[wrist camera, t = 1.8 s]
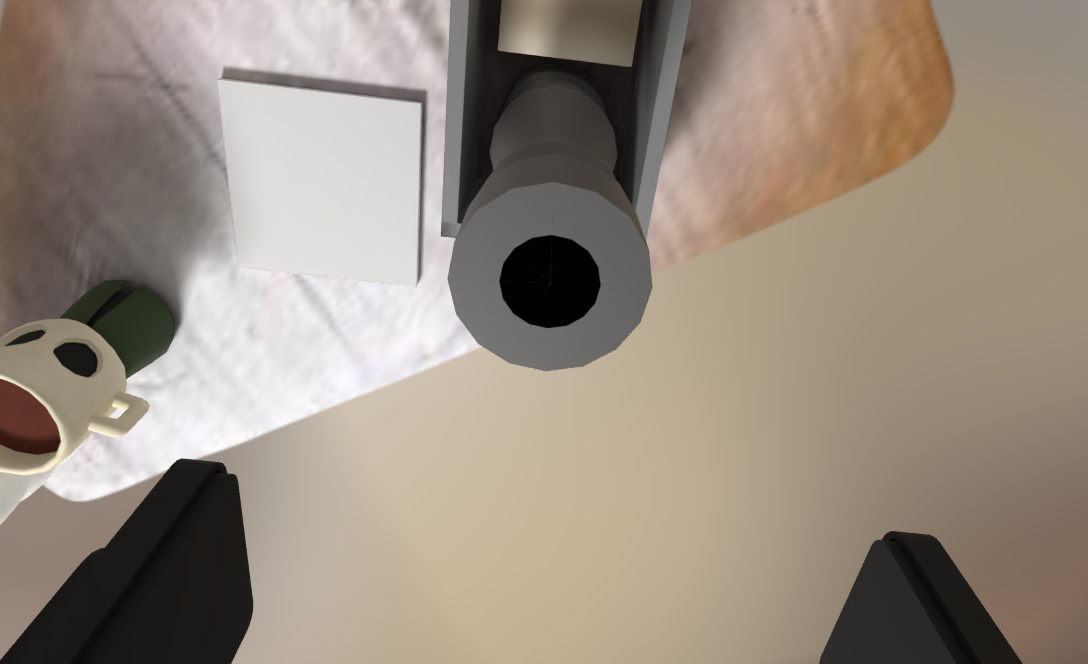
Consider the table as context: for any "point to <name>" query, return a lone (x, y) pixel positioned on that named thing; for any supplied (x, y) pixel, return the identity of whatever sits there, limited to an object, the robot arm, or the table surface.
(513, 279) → the candle holder
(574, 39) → the upper offcut
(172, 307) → the table surface
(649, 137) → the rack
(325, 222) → the mat
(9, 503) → the water bottle
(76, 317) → the character mug
